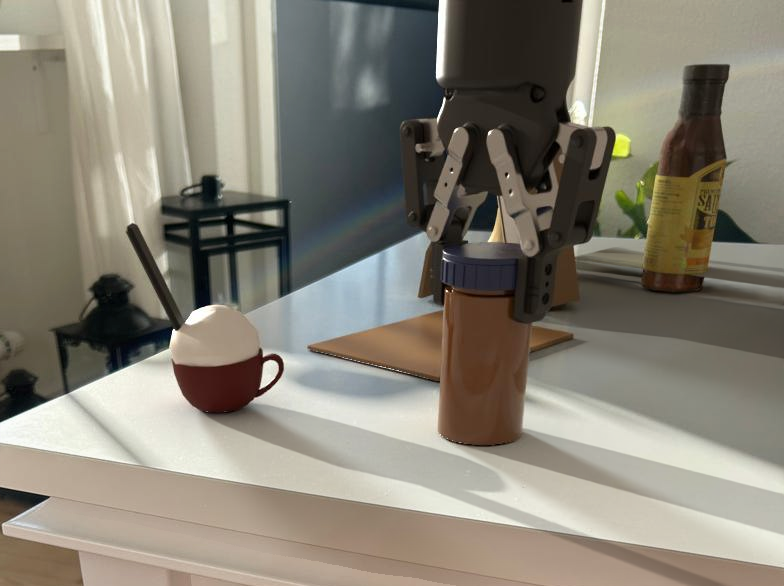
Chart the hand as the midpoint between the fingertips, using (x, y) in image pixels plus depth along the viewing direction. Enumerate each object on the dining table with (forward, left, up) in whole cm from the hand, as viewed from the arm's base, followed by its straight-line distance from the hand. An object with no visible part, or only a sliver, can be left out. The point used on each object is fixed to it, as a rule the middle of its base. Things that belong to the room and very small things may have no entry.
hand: (487, 311), depth 62 cm
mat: (-16, -16, -8) cm, 24 cm away
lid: (0, 0, +3) cm, 3 cm away
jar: (0, 0, -8) cm, 8 cm away
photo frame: (-37, -27, -8) cm, 47 cm away
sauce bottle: (-49, -13, -8) cm, 51 cm away
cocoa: (+8, -17, -8) cm, 20 cm away
